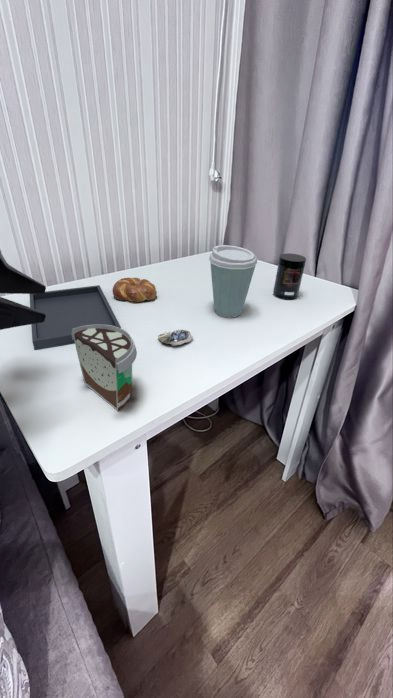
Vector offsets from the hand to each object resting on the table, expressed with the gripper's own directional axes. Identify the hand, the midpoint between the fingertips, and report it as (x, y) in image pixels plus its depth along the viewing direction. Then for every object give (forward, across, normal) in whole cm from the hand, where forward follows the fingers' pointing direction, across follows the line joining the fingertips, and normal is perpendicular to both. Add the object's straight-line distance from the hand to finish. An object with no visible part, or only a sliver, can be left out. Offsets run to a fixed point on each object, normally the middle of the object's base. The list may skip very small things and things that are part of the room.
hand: (45, 302), depth 45 cm
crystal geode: (+27, +11, +5) cm, 29 cm away
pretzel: (+24, +35, +6) cm, 42 cm away
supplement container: (+59, +24, -10) cm, 64 cm away
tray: (+9, +27, +13) cm, 31 cm away
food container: (+14, -2, +11) cm, 18 cm away
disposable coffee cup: (+41, +19, -1) cm, 45 cm away
